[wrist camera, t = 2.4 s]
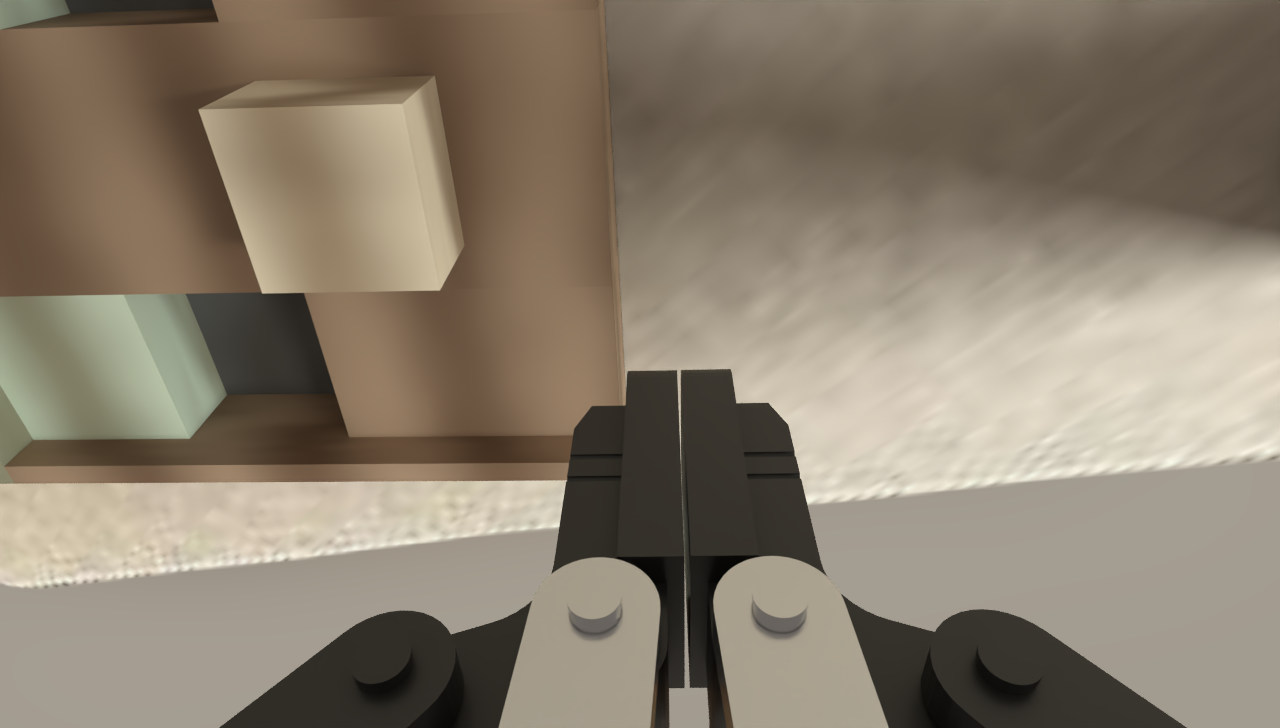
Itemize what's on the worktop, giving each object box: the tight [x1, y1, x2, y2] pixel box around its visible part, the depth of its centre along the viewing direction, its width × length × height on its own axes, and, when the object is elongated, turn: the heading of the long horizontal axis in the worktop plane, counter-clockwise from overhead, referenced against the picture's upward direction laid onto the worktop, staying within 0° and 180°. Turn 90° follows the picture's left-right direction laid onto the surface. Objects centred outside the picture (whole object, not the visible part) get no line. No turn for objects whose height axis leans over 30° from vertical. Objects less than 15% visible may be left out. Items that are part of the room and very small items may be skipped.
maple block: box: [198, 76, 464, 294], centre depth 21 cm, size 5×5×3 cm
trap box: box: [0, 0, 626, 484], centre depth 23 cm, size 23×22×4 cm
